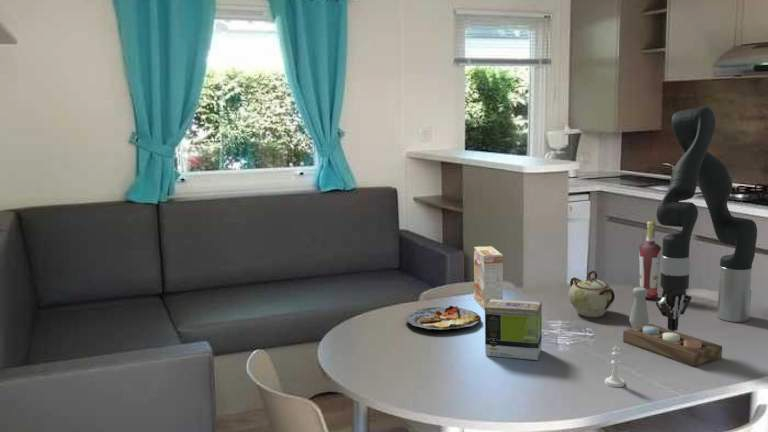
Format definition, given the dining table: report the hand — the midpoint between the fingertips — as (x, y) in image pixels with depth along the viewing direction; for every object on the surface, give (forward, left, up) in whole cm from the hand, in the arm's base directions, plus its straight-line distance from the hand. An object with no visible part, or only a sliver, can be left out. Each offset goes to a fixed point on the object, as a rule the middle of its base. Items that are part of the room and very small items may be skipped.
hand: (672, 329), depth 201 cm
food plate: (+40, -57, -6) cm, 70 cm away
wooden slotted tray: (0, 0, -6) cm, 6 cm away
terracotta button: (0, +7, -5) cm, 8 cm away
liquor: (-38, -39, -6) cm, 55 cm away
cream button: (0, 0, -5) cm, 5 cm away
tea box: (+39, -23, -6) cm, 46 cm away
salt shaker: (-8, -18, -6) cm, 21 cm away
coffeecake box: (+14, -66, -6) cm, 68 cm away
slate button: (0, -7, -5) cm, 9 cm away
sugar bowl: (-7, -37, -6) cm, 38 cm away
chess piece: (+32, +8, -6) cm, 34 cm away
